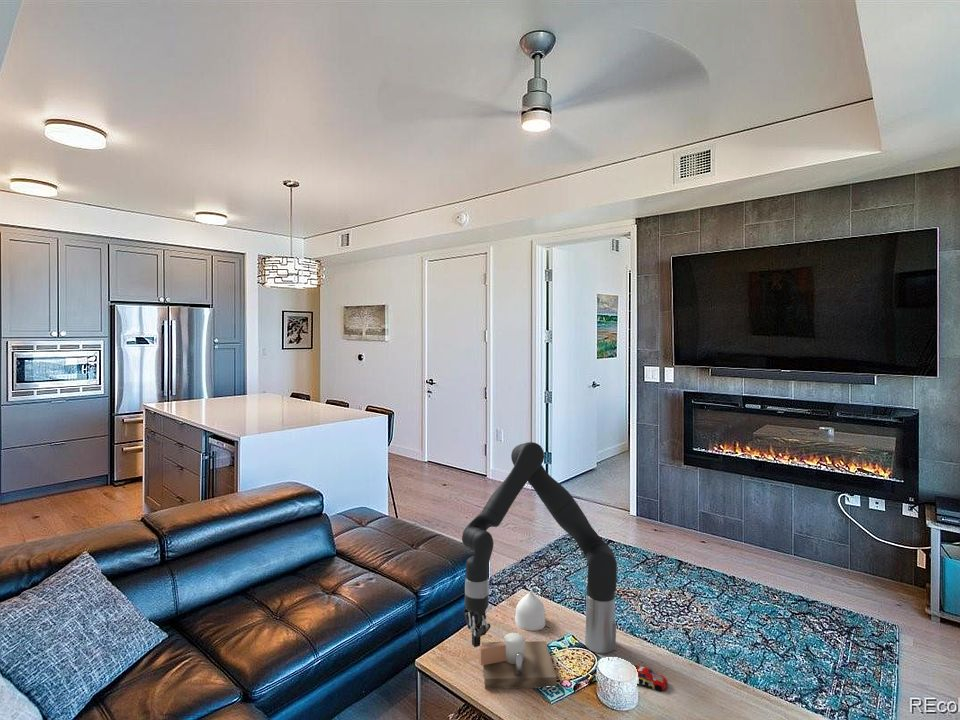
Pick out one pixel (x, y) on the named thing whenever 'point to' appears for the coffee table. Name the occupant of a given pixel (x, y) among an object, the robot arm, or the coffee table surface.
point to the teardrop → (530, 613)
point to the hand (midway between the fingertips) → (476, 645)
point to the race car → (651, 679)
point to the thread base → (522, 669)
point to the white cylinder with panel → (503, 650)
